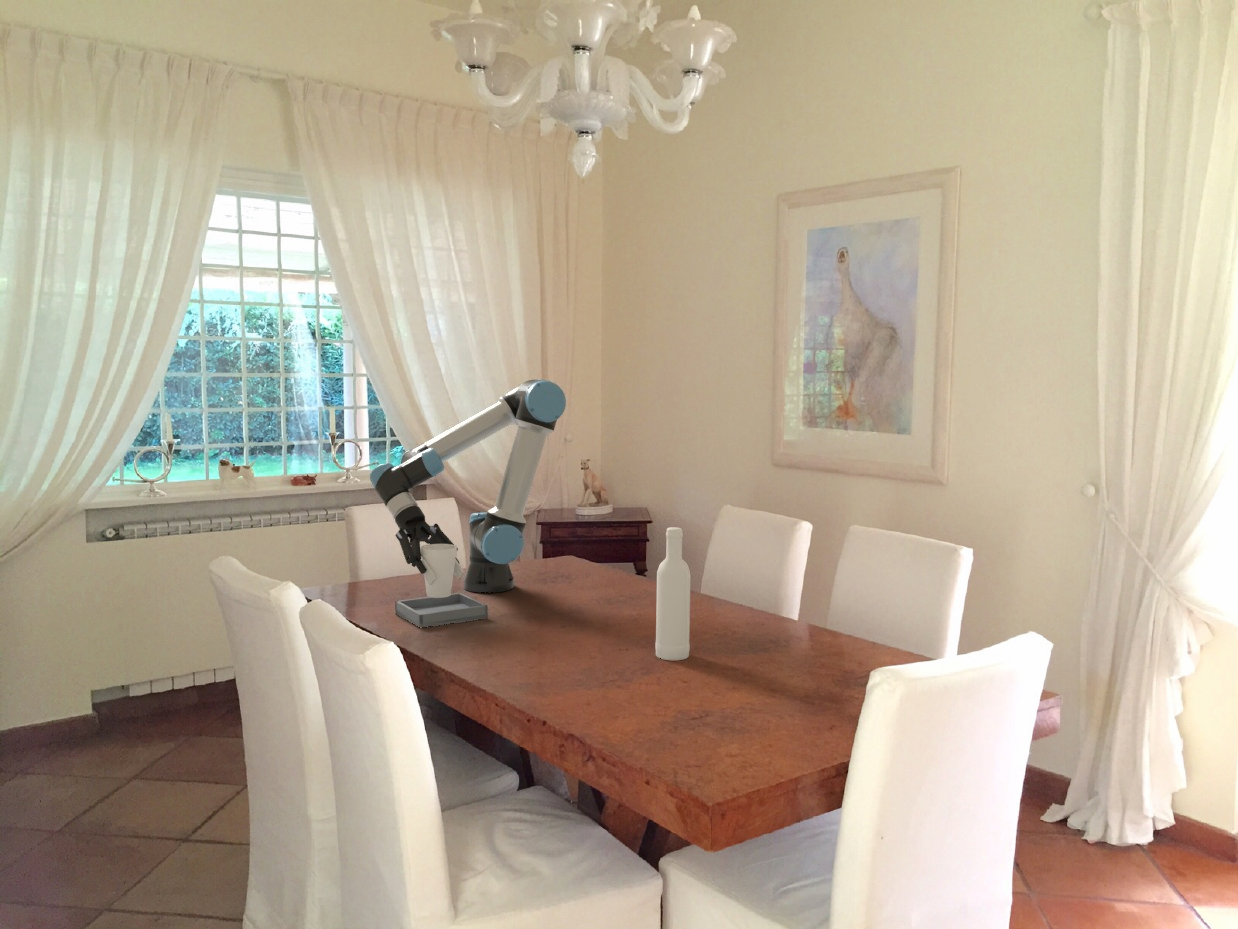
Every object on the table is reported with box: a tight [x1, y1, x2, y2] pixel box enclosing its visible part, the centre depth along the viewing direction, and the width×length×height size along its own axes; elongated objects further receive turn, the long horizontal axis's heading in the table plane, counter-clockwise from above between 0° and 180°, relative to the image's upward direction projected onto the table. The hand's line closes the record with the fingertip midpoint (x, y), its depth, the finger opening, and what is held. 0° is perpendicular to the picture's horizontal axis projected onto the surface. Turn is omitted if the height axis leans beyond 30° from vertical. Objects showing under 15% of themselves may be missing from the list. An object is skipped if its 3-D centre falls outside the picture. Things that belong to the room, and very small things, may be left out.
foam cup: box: [420, 544, 458, 598], centre depth 254 cm, size 10×9×13 cm
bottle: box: [654, 526, 691, 662], centre depth 221 cm, size 8×8×30 cm
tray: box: [394, 592, 489, 628], centre depth 255 cm, size 19×17×4 cm
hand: (447, 578), depth 253 cm, fingers closed on foam cup, 9 cm apart
